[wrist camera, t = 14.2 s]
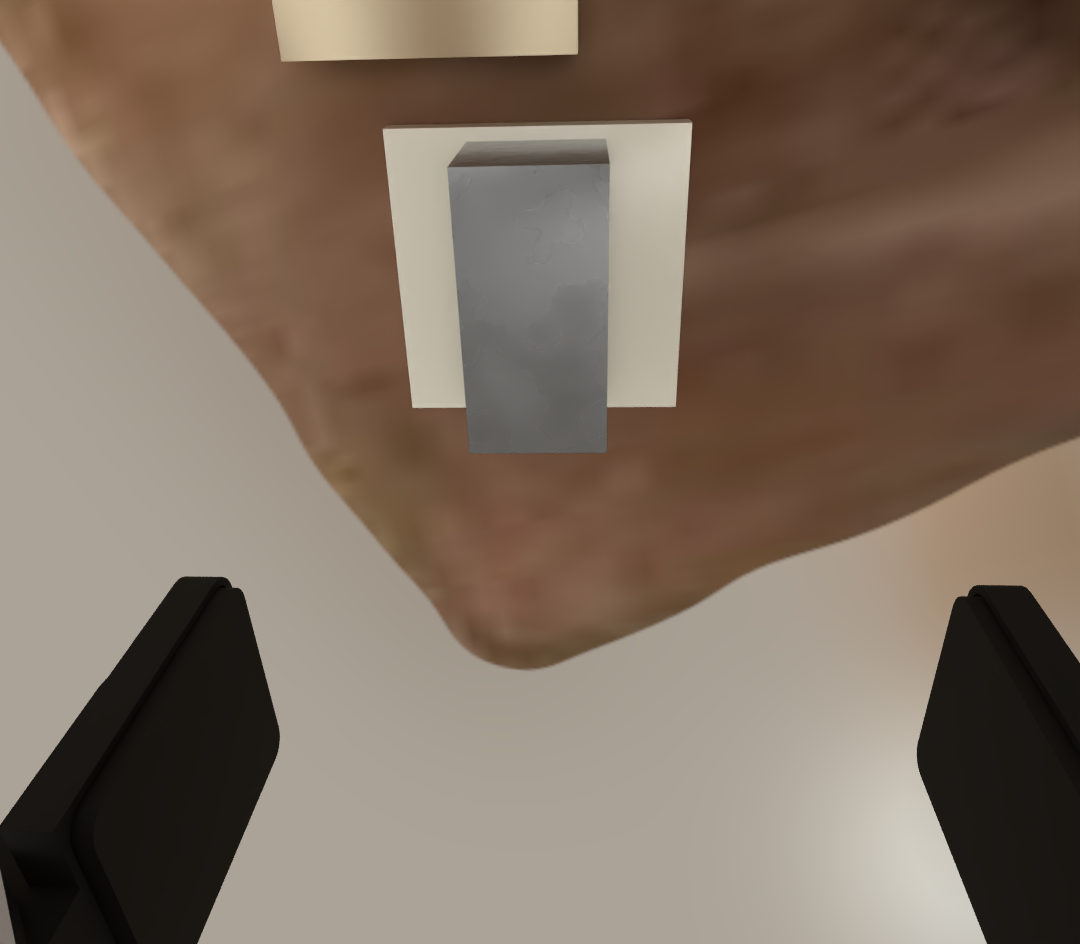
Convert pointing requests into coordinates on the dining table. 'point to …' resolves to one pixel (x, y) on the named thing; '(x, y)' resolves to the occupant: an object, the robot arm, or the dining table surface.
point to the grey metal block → (533, 292)
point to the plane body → (424, 28)
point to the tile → (634, 250)
